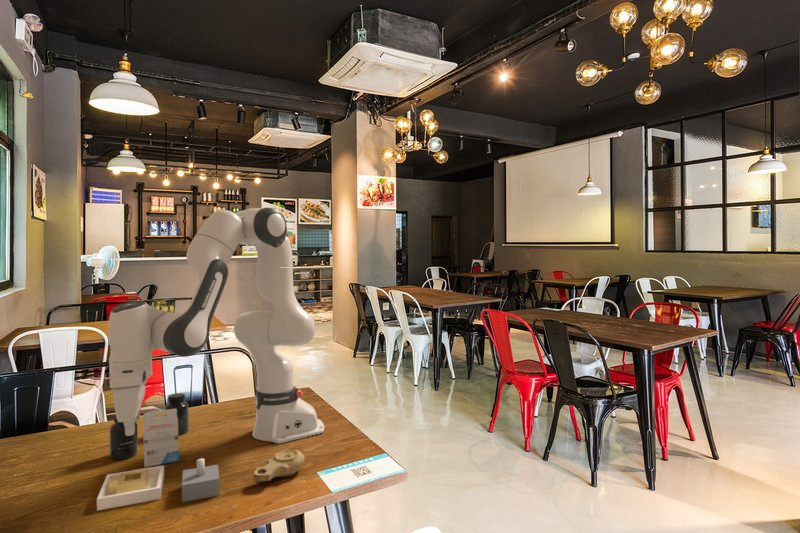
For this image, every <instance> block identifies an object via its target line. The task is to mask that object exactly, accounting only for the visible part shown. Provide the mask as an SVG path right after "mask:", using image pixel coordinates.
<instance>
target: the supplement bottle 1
mask: <svg viewBox="0 0 800 533" xmlns="http://www.w3.org/2000/svg"><path fill="white" fill-rule="evenodd" d="M134 425H135V432H134V434H133V435H130V436H126V435H125V427H124V424H123V422H118V421H117V418H116V413H114V415H113V423H112V424H111V425H110V427H109V458H110V459H112V460H114V461H122V460H127V459H130V458H133V457H135V456H136V455H137V453H138V450H139V449H138V448H139V447H138V444H139V442H138V439H139V438H138V433H139V432H138V427H139V426H138V425H139V424H138V423H137V421H134Z"/></svg>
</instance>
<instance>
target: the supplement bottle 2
mask: <svg viewBox="0 0 800 533" xmlns="http://www.w3.org/2000/svg"><path fill="white" fill-rule="evenodd" d="M167 398H168V399H167V404H166V405H165V406H164V410H169V409H177V418H178V436H181V435H184V434H186V433H188V432H189V429H190V428H189V427H190V426H189V425H190V423H189V422H190V421H189V415H190V414H189V412H190V411H189V404H188V402H187V401H186V394H185V393H183V392H182V393H181V392H176V393H171V394H169V395H168V397H167ZM164 416H166V414H164Z"/></svg>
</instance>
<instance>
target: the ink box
mask: <svg viewBox="0 0 800 533" xmlns="http://www.w3.org/2000/svg"><path fill="white" fill-rule="evenodd" d="M165 414H166V416H165ZM159 415H163V416H159ZM142 429H143V430H142V433H143V435H142V436H143V465H144V468H150V467H155V466H160V465H163V464H168V463H169V464H170V463H174V462H178V461H180V457H179V456H180V454H179V452H180V451H179V450H180V449H179V435H178V418H177V409H169V410H165V409H162V410H155V411H148V412H145V413H143V422H142Z"/></svg>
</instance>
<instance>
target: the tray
mask: <svg viewBox="0 0 800 533" xmlns="http://www.w3.org/2000/svg"><path fill="white" fill-rule="evenodd" d="M147 469H148V471H149V482H148V486H147V489H143V490H137V491H131V492H126V493H120V494H117V493H115V494H110V495H109V480H111V479H117V478H119V477H120V474H122V473H129V472H135V471H141V470H147ZM164 480H165V465H163V464H162V465H156V466H149V467H144V468H139V469H133V470H127V471H121V472H115V473H107V474H106V476H105V479H104V482H103V484H102V485H101V489H100V490H99V493H98V496H97V498H96V511H103V510H109V509H113V508H119V507H124V506H129V505H135V504H140V503H146V502H150V501H156V500H160V499H162V490H163V486H164V485H163V484H164Z"/></svg>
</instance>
